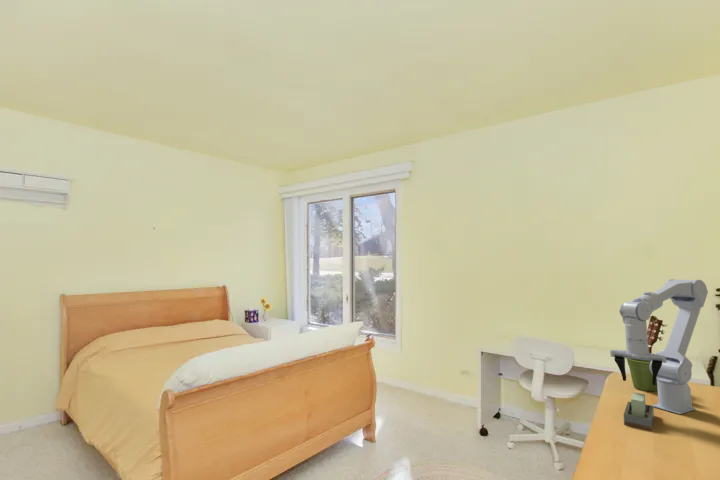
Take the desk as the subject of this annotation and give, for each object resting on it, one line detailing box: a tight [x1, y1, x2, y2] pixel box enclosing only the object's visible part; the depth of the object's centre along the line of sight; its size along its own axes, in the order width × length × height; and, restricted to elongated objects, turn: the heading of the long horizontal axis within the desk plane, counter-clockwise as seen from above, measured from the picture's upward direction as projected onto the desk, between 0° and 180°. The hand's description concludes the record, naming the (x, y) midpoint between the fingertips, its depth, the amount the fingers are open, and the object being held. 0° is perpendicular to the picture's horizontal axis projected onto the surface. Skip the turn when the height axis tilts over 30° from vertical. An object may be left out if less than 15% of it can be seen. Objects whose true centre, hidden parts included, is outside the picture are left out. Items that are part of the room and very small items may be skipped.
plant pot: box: [625, 356, 658, 392], centre depth 148 cm, size 12×12×11 cm
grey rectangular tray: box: [623, 401, 655, 431], centre depth 118 cm, size 14×7×3 cm, turn 141°
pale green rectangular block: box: [630, 392, 647, 417], centre depth 118 cm, size 8×3×6 cm, turn 141°
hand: (639, 382), depth 123 cm, fingers open, 7 cm apart
